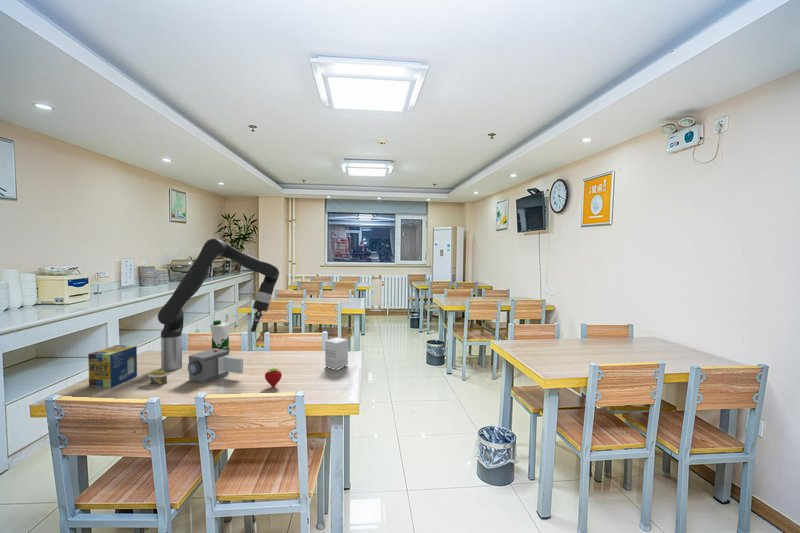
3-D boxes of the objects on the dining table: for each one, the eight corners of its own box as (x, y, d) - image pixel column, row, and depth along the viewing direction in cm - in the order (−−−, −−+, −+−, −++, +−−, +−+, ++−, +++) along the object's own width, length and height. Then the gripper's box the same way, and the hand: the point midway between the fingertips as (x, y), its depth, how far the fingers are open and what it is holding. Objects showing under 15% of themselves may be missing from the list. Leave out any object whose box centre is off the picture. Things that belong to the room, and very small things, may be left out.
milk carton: (219, 351, 215) (218, 319, 214) (232, 352, 213) (231, 320, 212) (208, 355, 207) (208, 322, 206) (222, 356, 205) (221, 322, 204)
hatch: (236, 377, 165) (236, 361, 165) (217, 374, 169) (217, 358, 169) (247, 373, 172) (247, 357, 172) (229, 370, 176) (229, 354, 176)
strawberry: (279, 389, 157) (279, 367, 157) (262, 389, 157) (262, 367, 156) (283, 384, 163) (283, 363, 162) (267, 384, 163) (267, 363, 162)
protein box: (88, 387, 156) (87, 353, 156) (117, 375, 172) (117, 344, 171) (110, 388, 156) (109, 354, 155) (138, 376, 171) (137, 345, 171)
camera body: (200, 385, 161) (200, 358, 160) (184, 382, 164) (184, 355, 164) (229, 373, 176) (228, 348, 176) (213, 371, 180) (213, 346, 179)
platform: (166, 390, 155) (166, 376, 155) (128, 388, 157) (128, 374, 156) (184, 380, 167) (184, 367, 167) (149, 379, 168) (149, 366, 168)
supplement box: (336, 363, 195) (336, 337, 194) (348, 366, 190) (348, 339, 189) (324, 367, 187) (324, 340, 187) (336, 371, 182) (336, 342, 182)
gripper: (255, 300, 190) (245, 329, 186) (255, 298, 177) (244, 330, 173) (269, 303, 193) (260, 332, 189) (270, 302, 180) (260, 333, 176)
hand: (252, 331), depth 181 cm, fingers open, 8 cm apart
